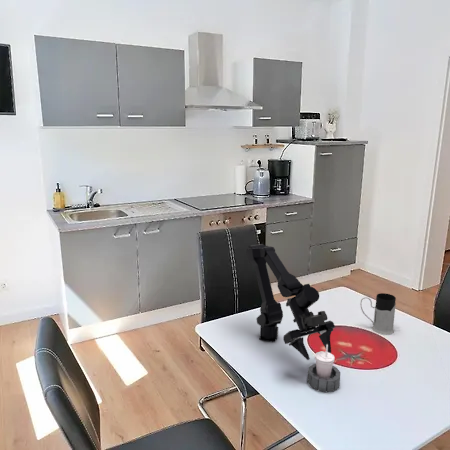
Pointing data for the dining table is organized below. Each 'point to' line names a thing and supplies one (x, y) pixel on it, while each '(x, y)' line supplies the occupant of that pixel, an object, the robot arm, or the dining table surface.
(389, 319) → the grey mug
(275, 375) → the dining table surface
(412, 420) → the dining table surface
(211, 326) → the dining table surface
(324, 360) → the smoothie
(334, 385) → the stone ring
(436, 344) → the dining table surface
